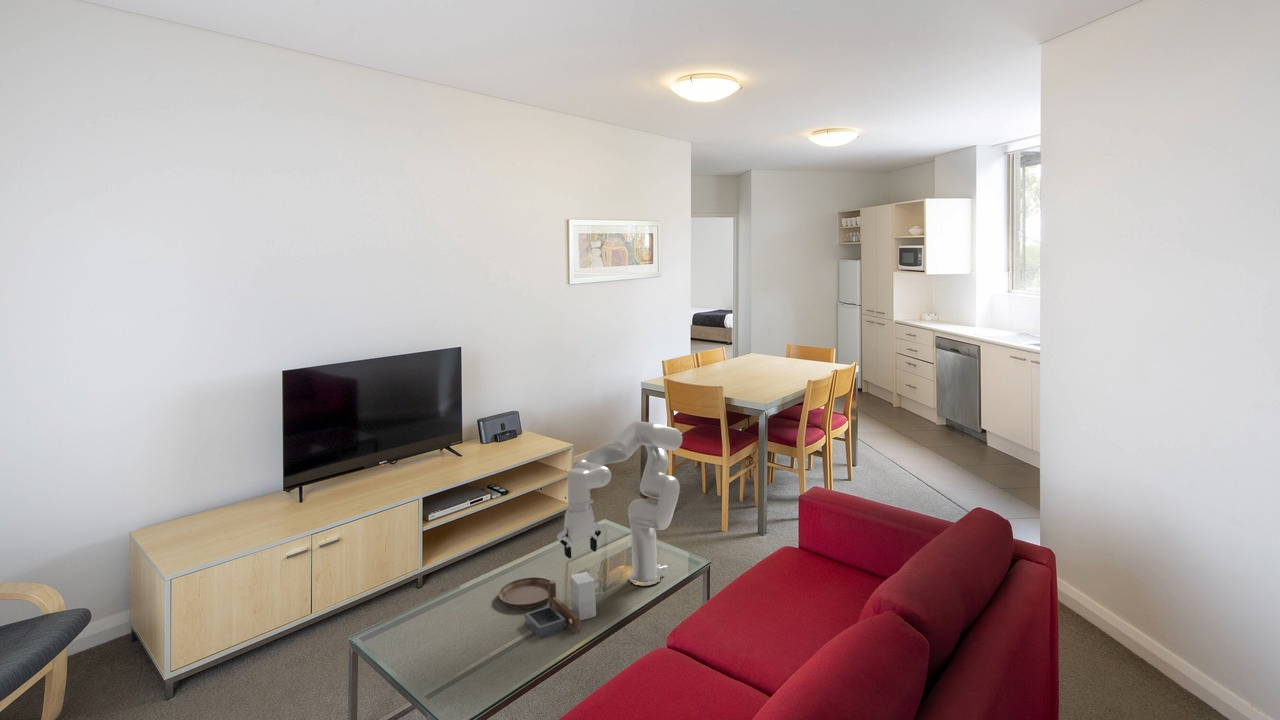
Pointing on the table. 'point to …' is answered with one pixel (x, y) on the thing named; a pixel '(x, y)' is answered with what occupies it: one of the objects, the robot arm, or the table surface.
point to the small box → (583, 595)
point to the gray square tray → (545, 621)
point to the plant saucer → (525, 593)
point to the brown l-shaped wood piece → (563, 608)
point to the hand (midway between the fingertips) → (581, 553)
